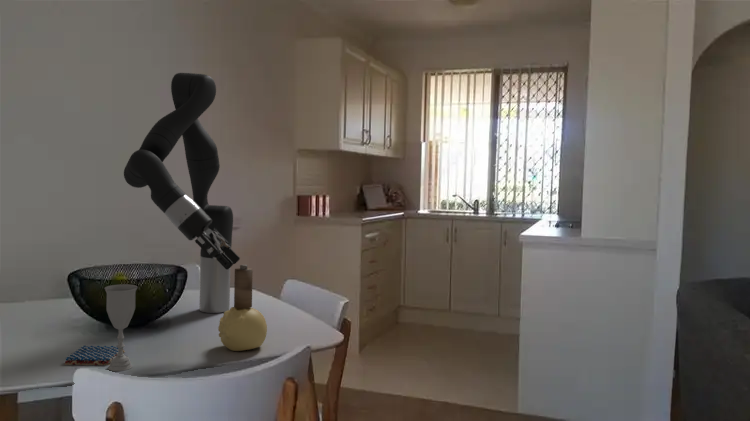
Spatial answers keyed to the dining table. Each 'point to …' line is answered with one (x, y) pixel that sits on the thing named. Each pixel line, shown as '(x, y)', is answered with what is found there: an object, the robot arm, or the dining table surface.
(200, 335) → the dining table surface
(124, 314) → the chalice
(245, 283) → the walnut pepper mill
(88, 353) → the woven mat
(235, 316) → the sculpture
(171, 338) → the dining table surface
